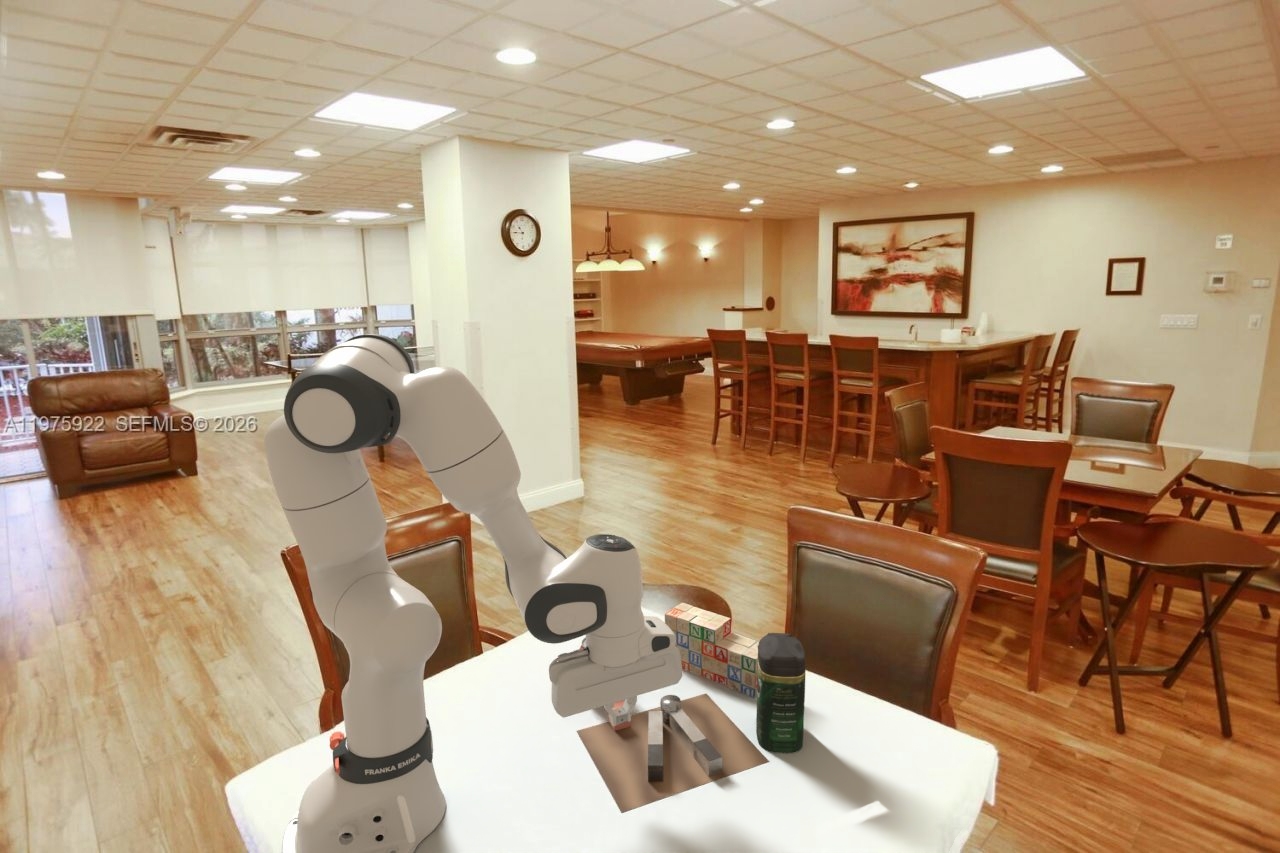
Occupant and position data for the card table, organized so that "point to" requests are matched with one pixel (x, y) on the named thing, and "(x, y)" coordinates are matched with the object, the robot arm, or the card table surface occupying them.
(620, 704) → the tab
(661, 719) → the tongs arm
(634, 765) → the board
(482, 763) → the card table surface
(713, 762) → the tongs fixed arm
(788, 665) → the coffee jar
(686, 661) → the stack of blocks
